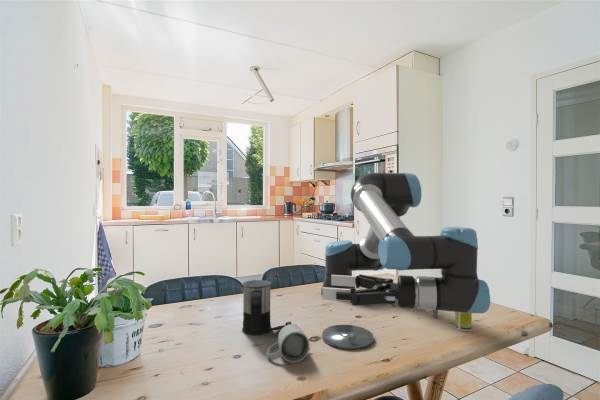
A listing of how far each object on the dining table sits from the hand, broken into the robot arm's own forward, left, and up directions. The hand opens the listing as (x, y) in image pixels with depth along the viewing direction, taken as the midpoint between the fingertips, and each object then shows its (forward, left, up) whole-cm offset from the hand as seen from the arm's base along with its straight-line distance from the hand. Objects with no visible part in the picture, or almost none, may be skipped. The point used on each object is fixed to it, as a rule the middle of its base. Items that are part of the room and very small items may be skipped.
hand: (327, 286), depth 82 cm
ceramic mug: (-7, -8, -19) cm, 22 cm away
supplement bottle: (+5, +50, -19) cm, 54 cm away
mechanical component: (-6, +51, -19) cm, 55 cm away
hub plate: (-8, +13, -19) cm, 25 cm away
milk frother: (-25, -5, -19) cm, 32 cm away
